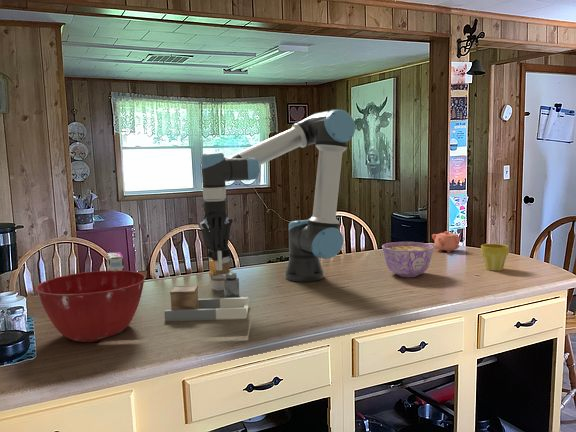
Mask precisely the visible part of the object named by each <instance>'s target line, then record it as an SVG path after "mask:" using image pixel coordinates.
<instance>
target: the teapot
mask: <svg viewBox="0 0 576 432" xmlns="http://www.w3.org/2000/svg"><path fill="white" fill-rule="evenodd" d="M431 237H432V240H434V244H433V245H434V249H435V250H437V252H440V253H441V252H443V251H446V253H448V254H452V252H456V250H457V249H459V248H460V245H459V243H460V241H461V238H460V236H459V235H458V234H457V233H452V232H450V231H448V230H447V231H444V232H440V233H437V234H436V233H433V234H431Z"/></svg>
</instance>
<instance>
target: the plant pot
mask: <svg viewBox="0 0 576 432" xmlns="http://www.w3.org/2000/svg"><path fill="white" fill-rule="evenodd" d="M509 247H510V246H508V244H501V243H484V244H481V245H480V253H481V254H482V258H483V263H484V267H485V268H484V269H486V270H487V271H492V272H493V271H495V272H499V271H503V270H504V267H505V264H506V259H507V256H508V255H509V251H510V250H509V249H510V248H509Z"/></svg>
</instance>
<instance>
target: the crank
mask: <svg viewBox="0 0 576 432" xmlns="http://www.w3.org/2000/svg"><path fill="white" fill-rule="evenodd" d="M209 264H210V268H209V276H210V277H211V276H212V279H221V278H226V279H227V280H234V279H237V278H238V277H237V272H229V273H226V274H218V275H216V262H215V260H209V259H208V265H209Z"/></svg>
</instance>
